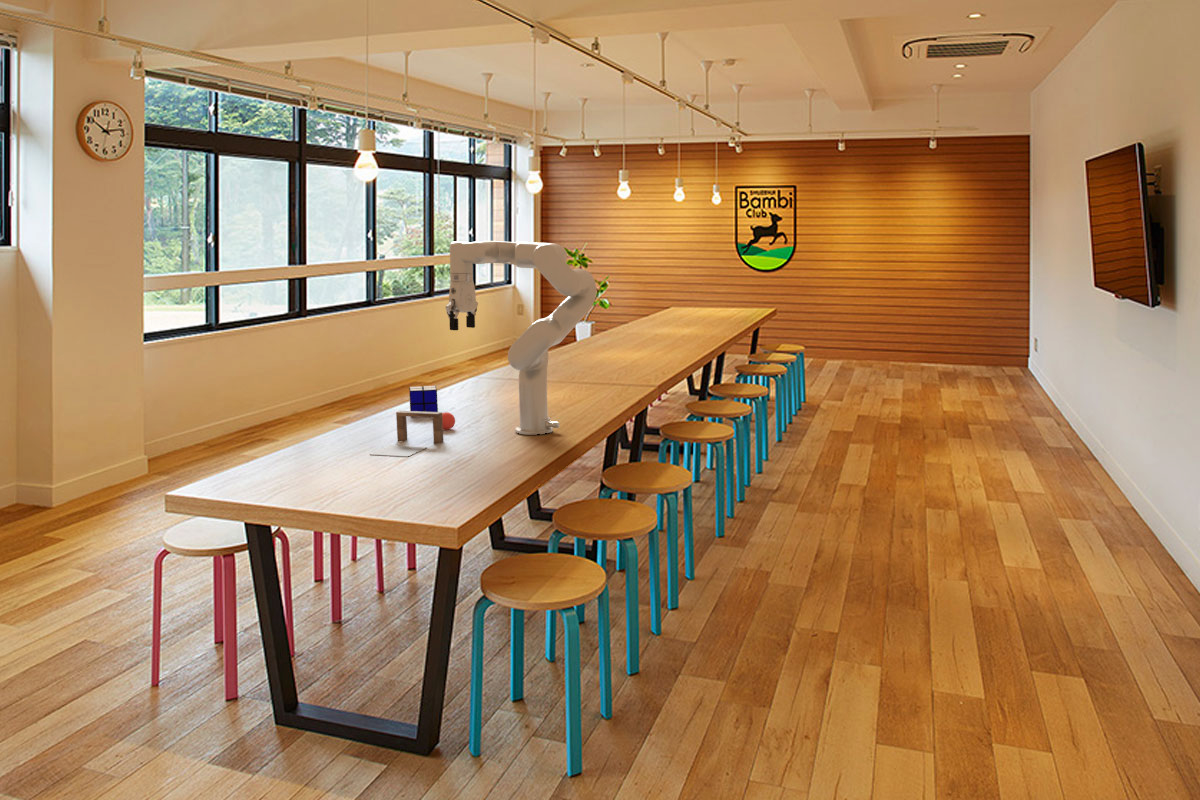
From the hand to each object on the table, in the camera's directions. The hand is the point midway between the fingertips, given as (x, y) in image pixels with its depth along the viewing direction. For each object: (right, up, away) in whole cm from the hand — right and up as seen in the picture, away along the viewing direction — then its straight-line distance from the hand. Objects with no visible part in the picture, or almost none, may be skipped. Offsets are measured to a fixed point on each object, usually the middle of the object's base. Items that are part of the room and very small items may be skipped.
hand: (462, 328), depth 344 cm
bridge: (-12, -38, -15) cm, 42 cm away
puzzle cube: (-19, -30, +33) cm, 49 cm away
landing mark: (-16, -40, -29) cm, 52 cm away
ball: (-6, -32, +3) cm, 32 cm away
